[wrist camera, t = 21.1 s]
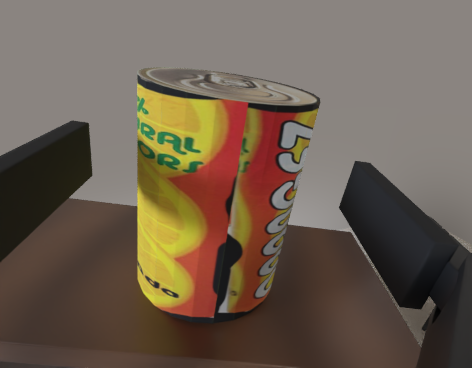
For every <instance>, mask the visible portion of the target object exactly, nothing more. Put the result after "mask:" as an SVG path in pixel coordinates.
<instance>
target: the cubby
mask: <svg viewBox="0 0 472 368" xmlns="http://www.w3.org/2000/svg"><path fill="white" fill-rule="evenodd" d="M420 351H421V347H420V346H419V344H418V342H417V341H416V339H415V337H414V336H413V334H412V333H411V331H410V329H409V328H408V326H407V324H406V323H405V321H404V319H403V318H402V316H401V314H400V313H399V311H398V309H397V308H396V306H395V304H394V303H393V301H392V299H391V298H390V296H389V294H388V293H387V291H386V290H385V288H384V286H383V285H382V283H381V281H380V280H379V278H378V276H377V275H376V273H375V271H374V270H373V268H372V266H371V265H370V263H369V261H368V260H367V258H366V256H365V255H364V253H363V251H362V250H361V248H360V247H359V245H358V243H357V242H356V240H355V238H354V237H353V235H352V233H351V232H344V231H336V230H327V229H319V228H311V227H303V226H294V225H287V228H286V232H285V236H284V240H283V243H282V247H281V251H280V255H279V258H278V262H277V266H276V270H275V273H274V277H273V281H272V285H271V288H270V291H269V293H268V295H267V296H266V298H265V300H264V301H263V303H262V304H261V305H259V306H258V307H257V308H256V309H255V310H253V311H252V312H251V313H249V314H247V315H245V316H242V317H240V318H238V319H235V320H233V321H227V322H220V323H214V324H210V323H196V322H189V321H186V320H183V319H180V318H176V317H173V316H171V315H169V314H167V313H166V312H164V311H162V310H161V309H159V308H158V307H156V306H154V304H153V303H152V302H151V301H150V300H149V299H148V298H147V297H146V296H145V294H144V293H143V291H142V289H141V286H140V284H139V281H138V207H137V206H129V205H120V204H112V203H104V202H95V201H88V200H79V199H70V198H68V199H67V200H66V201H65V202H64V203H63V204H62V205H61V206H59V207H58V208H57V209H56V210H55V211H54V212H53V213H52V214H51V215H50V216H49V217H48V218H47V219H46V220H45V221H44V222H43V223H41V224H40V225H39V226H38V227H37V228H36V229H35V230H34V231H33V232H32V233H31V234H30V235H29V236H28V237H27V238H26V239H25V240H24V241H22V242H21V243H20V244H19V245H18V246H17V247H16V248H15V249H14V250H13V251H12V252H11V253H10V254H9V255H8V256H7V257H6V258H4V259H3V260H2V261H1V262H0V368H416V365H417V362H418V358H419V354H420Z"/></svg>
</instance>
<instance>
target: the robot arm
mask: <svg viewBox="0 0 472 368" xmlns="http://www.w3.org/2000/svg"><path fill="white" fill-rule="evenodd" d="M91 165H92V164H91V149H90V135H89V123H85V122H78V121H70V122H69V123H66V124H64V125H62V126H60V127H58V128H56V129H54V130H52V131H50V132H48V133H46V134H44V135H42V136H40V137H38V138H36V139H34V140H32V141H30V142H28V143H26V144H24V145H22V146H20V147H18V148H16V149H14V150H12V151H10V152H8V153H6V154H4V155H1V156H0V262H1V261H2V260H3V259H4V258H6V257H7V256H8V255H9V254H10V253H11V252H12V251H13V250H14V249H15V248H16V247H17V246H18V245H19V244H20V243H21V242H22V241H24V240H25V239H26V238H27V237H28V236H29V235H30V234H31V233H32V232H33V231H34V230H35V229H36V228H37V227H38V226H39V225H40V224H41V223H43V222H44V221H45V220H46V219H47V218H48V217H49V216H50V215H51V214H52V213H53V212H54V211H55V210H56V209H57V208H58V207H59V206H61V205H62V204H63V203H64V202H65V201H66V200H67V199H68V198H69V197H70V196H71V195H72V194H73V193H74V192H75V191H76V190H77V189H78V188H80V186H82V185H83V184H84V183H85V182H86V181H87V180H88V179H89V178H90V177H91V176H92V166H91ZM339 208H340V210H341V212H342V213H343V215H344V217H345V218H346V220H347V221H348V223H349V225H350V227H351V228H352V230H353V231H354V233H355V235H356V236H357V238H358V240H359V241H360V243H361V244H362V246H363V248H364V249H365V251H366V253H367V254H368V256H369V258H370V259H371V261H372V262H373V264H374V266H375V267H376V269H377V271H378V272H379V274H380V275H381V277H382V279H383V280H384V282H385V284H386V285H387V287H388V289H389V290H390V292H391V293H392V295H393V297H394V298H395V300H396V302H397V303H398V305H399V306H400V307H404V308H413V309H422V307H423V305H424V304H425V302H426V300H427V299H428V297H429V296H430V297H431V299H432V300H433V301H434V303H435V304H436V306H435V308H434V309H433V311H432V313H431V314H430V316H429V317H428V319H427V321H426V322H425V324H424V326H423V327H422V330H424V331H426V333H425V337H424V340H423V344H422V347H421V351H420V354H419V358H418V362H417V365H416V368H472V253H470V252H469V251H468V250H467V249H466V248H465V247H464V246H462V245H461V244H460V243H459V242H458V241H457V240H456V239H455V238H454V237H453V236H451V235H449V233H448V232H447V231H446V230H445V229H442V227H441V226H440V225H439V224H438V223H437V222H436V221H435V220H434V219H432V218H430V217H429V216H427V215H426V214H425V213H424V212H423V211H422V210H421V209H419V208H418V207H417V206H416V205H415V204H414V203H413V202H412V201H411V200H410V199H409V198H407V197H406V196H405V195H404V194H403V193H402V192H401V191H400V190H399V189H398V188H397V187H395V186H394V185H393V184H392V183H391V182H390V181H389V180H388V179H387V178H386V177H385V176H384V175H382V174H381V173H380V172H379V171H378V170H377V169H376V168H375V167H374V166H373V165H371V163H367V162H360V161H355V163H354V166H353V169H352V172H351V175H350V178H349V180H348V183H347V186H346V189H345V192H344V195H343V197H342V201H341V203H340V206H339Z"/></svg>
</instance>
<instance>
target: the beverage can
mask: <svg viewBox="0 0 472 368" xmlns="http://www.w3.org/2000/svg"><path fill="white" fill-rule="evenodd" d="M319 105H320V98H319V97H317V96H316V95H314V94H312V93H309V92H307V91H304V90H302V89H298V88H295V87H291V86H288V85H284V84H280V83H276V82H272V81H267V80H263V79H258V78H253V77H247V76H242V75H236V74H229V73H223V72H215V71H207V70H196V69H186V68H146V69H142V70H139V71H138V281H139V284H140V286H141V289H142V291H143V293H144V294H145V296H146V297H147V298H148V299H149V300H150V301H151V302H152V303H153V304H154V306H156V307H158V308H159V309H161V310H162V311H164V312H166V313H167V314H169V315H171V316H173V317H176V318H180V319H183V320H186V321H189V322H196V323H210V324H214V323H220V322H227V321H233V320H235V319H238V318H240V317H242V316H245V315H247V314H249V313H251V312H252V311H253V310H255V309H256V308H257V307H258V306H259V305H261V304H262V303H263V301H264V300H265V298H266V296H267V295H268V293H269V291H270V288H271V285H272V281H273V277H274V273H275V270H276V266H277V262H278V258H279V255H280V251H281V247H282V243H283V240H284V236H285V232H286V228H287V225H288V221H289V217H290V213H291V210H292V206H293V202H294V198H295V195H296V191H297V187H298V183H299V180H300V176H301V172H302V168H303V165H304V161H305V157H306V153H307V150H308V146H309V142H310V138H311V135H312V131H313V127H314V123H315V120H316V116H317V112H318V108H319Z"/></svg>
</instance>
